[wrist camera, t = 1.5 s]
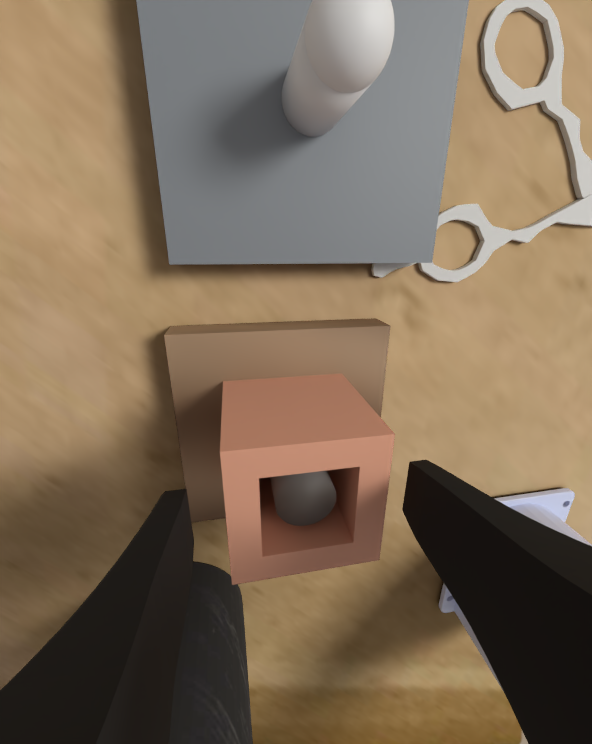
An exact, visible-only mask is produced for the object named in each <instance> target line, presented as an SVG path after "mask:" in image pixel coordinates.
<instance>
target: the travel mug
mask: <svg viewBox="0 0 592 744" xmlns="http://www.w3.org/2000/svg"><path fill="white" fill-rule="evenodd" d="M169 744H253V741H252V727H251V713H250V698H249V684H248V670H247V656H246V642H245V627H244V615H243V603H242V595H241V592H240V589H239V587H238V585H237V584H235V585H232V579H231V576H230V575H229V574H228V573H226V572H225V571H223V570H221V569H219V568H217V567H214V566H212V565H208V564H204V563H198V562H193V565H192V578H191V584H190V590H189V596H188V602H187V608H186V614H185V620H184V626H183V632H182V638H181V644H180V650H179V656H178V662H177V668H176V675H175V683H174V691H173V702H172V713H171V725H170V736H169Z"/></svg>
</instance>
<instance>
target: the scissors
mask: <svg viewBox="0 0 592 744" xmlns="http://www.w3.org/2000/svg"><path fill="white" fill-rule="evenodd" d="M523 10H524V11H525V12H527V13H529V14H531V15H532V16H534V17H535V18H536V19H538V20H539V21H540V22H542V23H543V27H544V31H545V36H546V40H547V45H548V50H549V61H548V64H547V67H546V70H545V73H544V76H543V79H542V81H541V82H540V83H539V84H538V85H537V86H536V87H532V88H526V89H522V88H520V87H519V86H518V85H516V84H515V83H514V82H513V81H512V80H511V79H509V78H508V77H507V76H506V75H505V74H504V73H503V72H502V69H501V67H500V64H499V62H498V59H497V57H496V54H495V45H494V44H495V41H496V38H497V35H498V32H499V30H500V27H501V25H502V23H503V21H504V19H505V17H506V16H507V15H508V14H510V13H511V12H516V11H523ZM480 48H481V66H482V73H483V75H484V77H485V79H486V81H487V83H488V85H489V87H490V89H491V91H492V93H493V95H494V96H495V97H496V98H497V99H498V101H499V102H500V103H501V104H502V105H503V106H504V107H505V108H506V109H507V110H508V111H510V110H514V109H517V108H521V107H525V106H529V105H533V104H536V103H540V105H541V107H542V110H543V111H544V112H545V113H547V114H548V115H549V116H551V117H552V118H554V119H555V120H556V121H557V122H558V125H559V127H560V130H561V133H562V135H563V138H564V142H565V145H566V149H567V152H568V157H569V161H570V168H571V178H572V183H573V186H574V190H575V194H576V197H577V198H578V199H577V200H575V201H573V202H572V203H570V204H568V205H566V206H564V207H562V208H560V209H558V210H556V211H555V212H553V213H551V214H549V215H547V216H545V217H544V218H542V219H540V220H538V221H537V222H535V223H533V224H531V225H529V226H527V227H525V228H521V229H517V230H513V231H511V230H507V229H503V228H499V227H495V226H492V225H491V224H490V222H489V221H488V220H487V219H486V217H485V215H484V214H483V212H482V210H481V208H480V207H479V205H478V204H464V205H458V206H453V207H451V208H449V209H447V210H445V211H443V212H441V213H439V216H438V223H437V229H438V228H439V226H440V225H442V224H444V223H446V222H449V221H451V220H458V221H464V222H466V223H468V224H470V225H472V226H474V227H475V230H476V232H477V235H478V237H479V239H480V243H479V245H478V247H477V250H476V252H475V254H474V256H473V259H472V260H471V261H470V262H468V263H467V264H465V265H464V266H462V267H460V268H457V269H455V270H446V269H442V268H440V267H438V266H436V265H434V264H433V261H432V263H418V266H419V269H420V271H422V272H423V273H425V274H426V275H428V276H430V277H431V278H433V279H434V280H439V281H450V282H458V281H460V280H463V279H465V278H466V277H468V276H470V275H471V274H473V273H475V272H476V271H477V270H478V269H479V268H480V267H482V266H483V265H484V264H485V263H486V261H487V260H488V258H489V257H490V256H491V254H492V253H493V251H494V250H496V249H498V248H499V247H501V246H502V245H504V244H506V243H507V242H509V241H511V240H513V241H517V242H522V243H528V242H529V241H530V240H532V239H533V238H534V237H535V236H536V235H537V234H538V233H539V232H540V231H541V230H543V229H545V228H547V227H548V226H550V225H552V224H554V223H560V224H568V225H580V226H592V160H591V159H590V158H589V157H588V156H587V155H586V154H585V153H584V152H583V149H582V145H581V142H580V119H579V118H578V117H577V116H575V115H574V114H573V113H572V112H571V111H569V110H568V109H567V108H566V107H565V106H563V105H562V94H561V89H562V68H563V61H564V46H563V42H562V37H561V32H560V27H559V23H558V20H557V18H556V16H555V14H554V12H553V11H552V9H551V7H550V5H549V4H547V3H546V2H544V1H543V0H505V1H504V2H502V3H501V4H499V5H498V6H497V7H496V8H494V9H493V11H492V13H491V14H490V16H489V18H488V19H487V21H486V24H485V28H484V31H483V35H482V39H481V42H480ZM413 264H416V263H372V267H371V272H372V275H373V276H378V277H384V276H385V275H387V274H388V273H390V272H392V271H394V270H396V269H399V268H403V267H407V266H410V265H413Z"/></svg>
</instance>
